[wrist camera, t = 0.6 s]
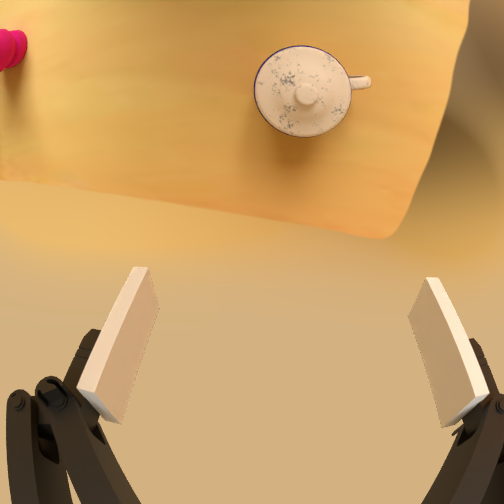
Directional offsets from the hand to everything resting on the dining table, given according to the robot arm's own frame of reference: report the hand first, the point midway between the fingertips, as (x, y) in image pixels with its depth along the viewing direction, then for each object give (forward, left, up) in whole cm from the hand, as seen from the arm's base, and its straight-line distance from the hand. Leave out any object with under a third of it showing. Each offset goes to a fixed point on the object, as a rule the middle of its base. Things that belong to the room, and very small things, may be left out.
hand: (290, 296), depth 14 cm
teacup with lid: (-7, +4, -28) cm, 29 cm away
